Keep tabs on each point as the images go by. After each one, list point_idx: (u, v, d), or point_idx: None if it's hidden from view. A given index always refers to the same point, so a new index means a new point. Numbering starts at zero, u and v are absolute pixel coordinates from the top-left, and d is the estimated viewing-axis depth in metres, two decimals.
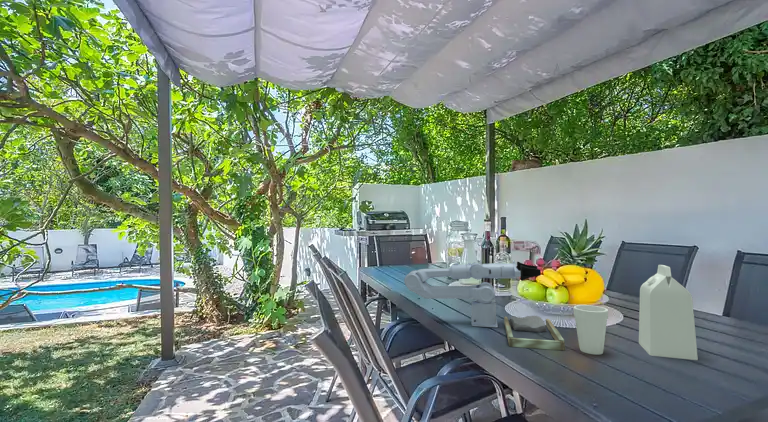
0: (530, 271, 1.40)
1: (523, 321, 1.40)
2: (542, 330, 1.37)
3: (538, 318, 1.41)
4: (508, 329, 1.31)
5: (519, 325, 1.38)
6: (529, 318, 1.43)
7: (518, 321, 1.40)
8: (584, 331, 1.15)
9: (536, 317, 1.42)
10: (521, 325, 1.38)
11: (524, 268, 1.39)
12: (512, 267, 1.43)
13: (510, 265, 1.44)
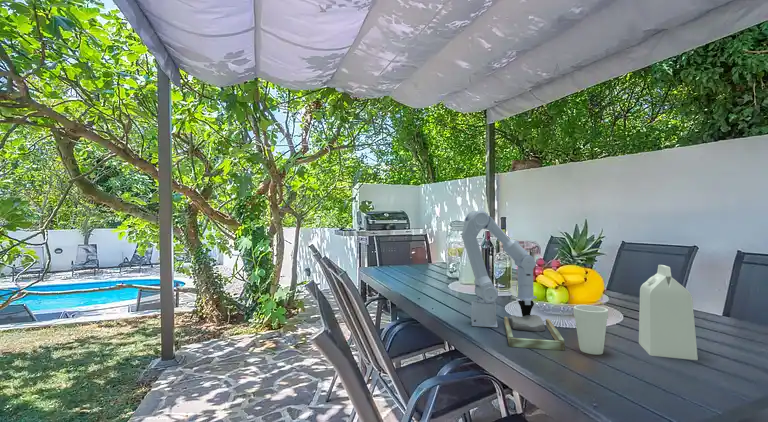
0: (527, 311, 1.47)
1: (522, 320, 1.41)
2: (541, 329, 1.38)
3: (537, 317, 1.42)
4: (508, 329, 1.31)
5: (518, 324, 1.39)
6: (528, 317, 1.43)
7: (517, 320, 1.41)
8: (584, 331, 1.15)
9: (535, 316, 1.43)
10: (520, 324, 1.38)
11: (531, 306, 1.46)
12: (530, 296, 1.46)
13: (532, 294, 1.46)
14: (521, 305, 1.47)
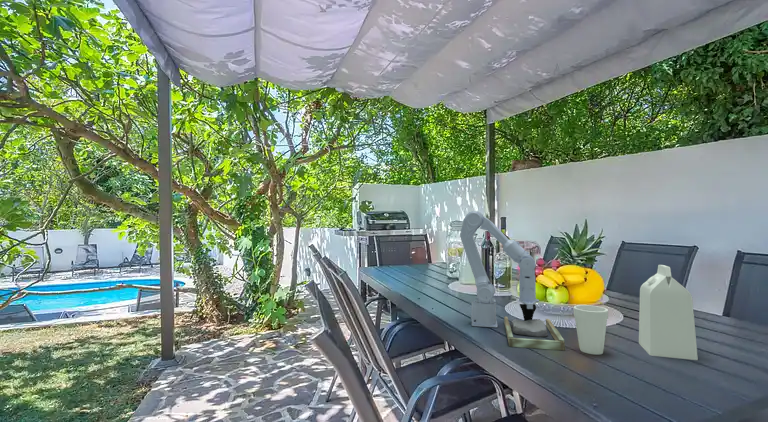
0: (529, 315, 1.41)
1: (524, 324, 1.35)
2: (543, 334, 1.31)
3: (540, 322, 1.36)
4: (508, 329, 1.31)
5: (518, 328, 1.33)
6: (531, 321, 1.37)
7: (518, 324, 1.35)
8: (584, 331, 1.15)
9: (538, 321, 1.37)
10: (520, 328, 1.33)
11: (533, 310, 1.40)
12: (533, 299, 1.40)
13: (534, 297, 1.40)
14: (523, 309, 1.40)
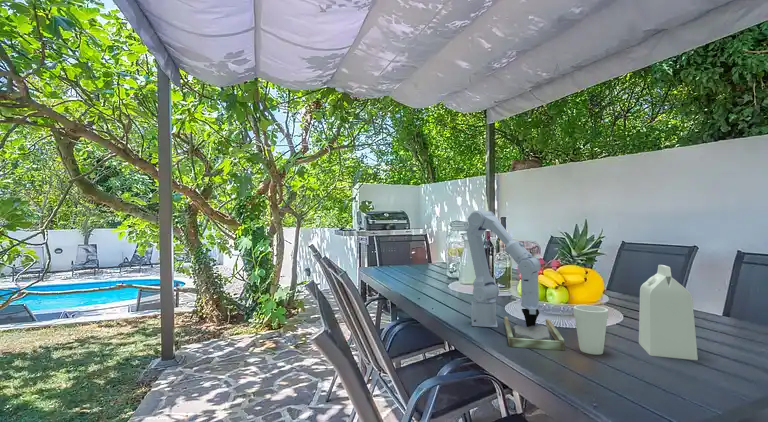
0: (532, 321, 1.33)
1: (526, 331, 1.28)
2: None
3: (543, 328, 1.28)
4: (508, 329, 1.31)
5: (520, 335, 1.25)
6: (533, 328, 1.29)
7: (520, 331, 1.28)
8: (584, 331, 1.15)
9: (541, 327, 1.29)
10: (522, 335, 1.25)
11: (536, 315, 1.32)
12: (535, 304, 1.32)
13: (537, 302, 1.32)
14: (525, 314, 1.33)
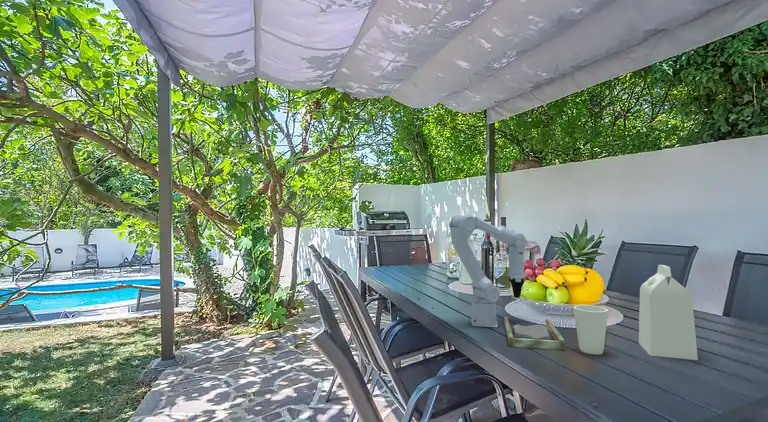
0: (518, 289, 1.51)
1: (526, 330, 1.29)
2: None
3: (543, 328, 1.29)
4: (508, 329, 1.31)
5: (520, 334, 1.26)
6: (533, 327, 1.30)
7: (520, 330, 1.29)
8: (584, 331, 1.15)
9: (541, 326, 1.30)
10: (522, 335, 1.26)
11: (521, 284, 1.49)
12: (521, 274, 1.49)
13: (523, 272, 1.50)
14: (512, 283, 1.50)
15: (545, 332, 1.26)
